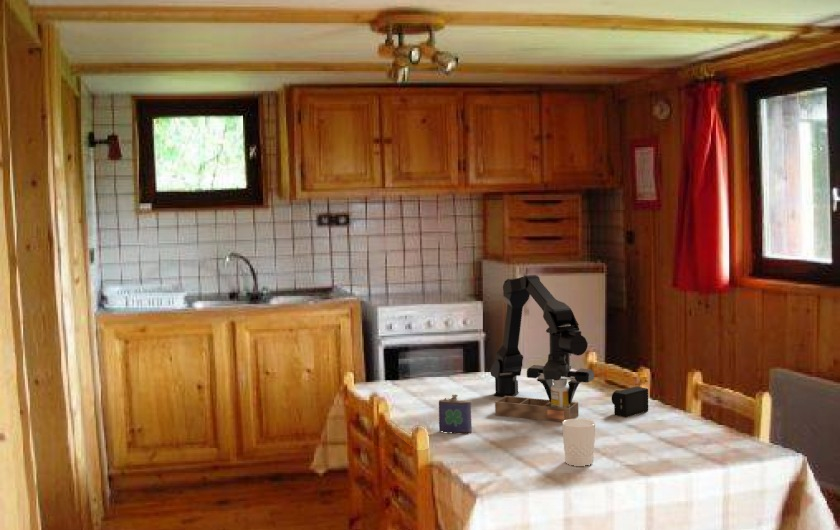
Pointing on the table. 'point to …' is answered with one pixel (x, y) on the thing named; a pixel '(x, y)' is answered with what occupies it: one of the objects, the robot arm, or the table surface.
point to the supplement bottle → (560, 393)
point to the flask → (455, 415)
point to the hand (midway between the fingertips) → (560, 402)
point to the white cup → (579, 441)
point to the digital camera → (630, 401)
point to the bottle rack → (534, 409)
